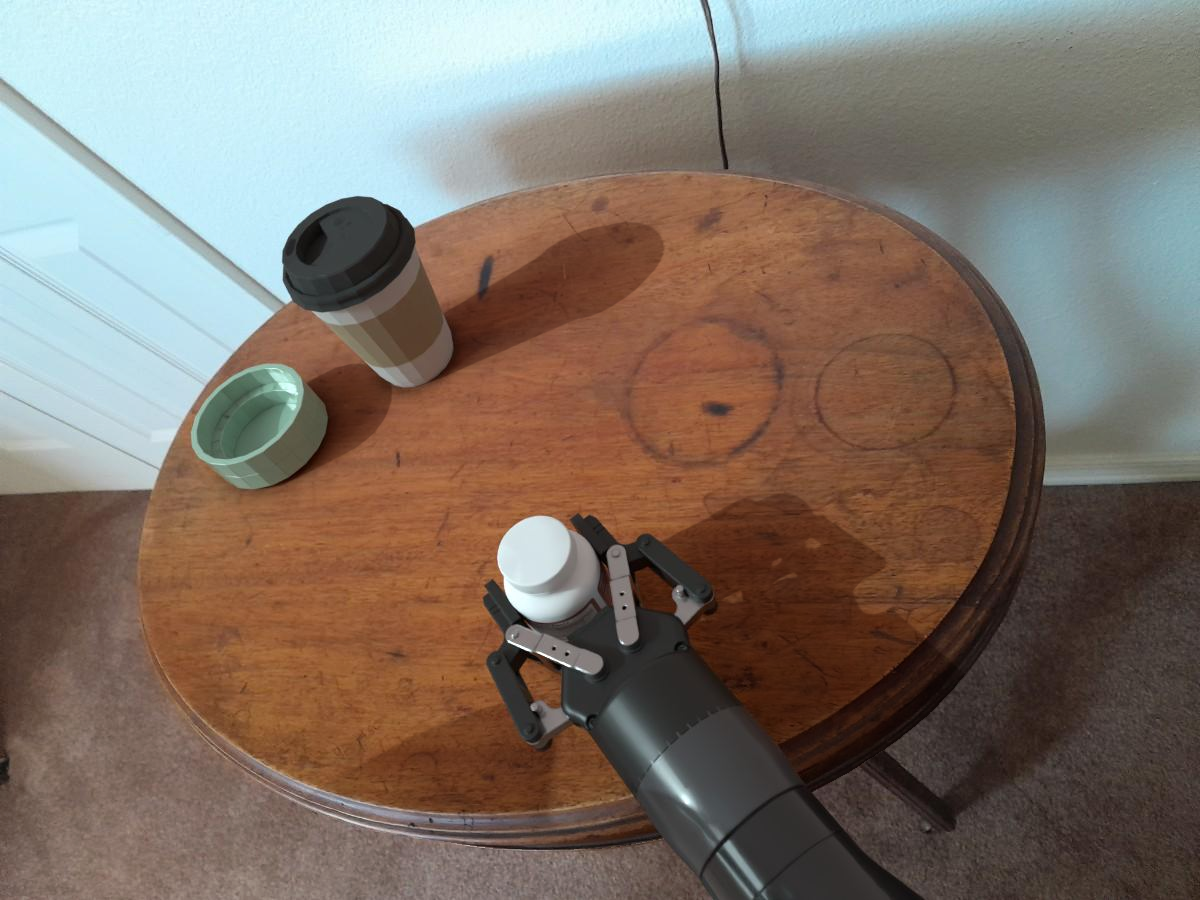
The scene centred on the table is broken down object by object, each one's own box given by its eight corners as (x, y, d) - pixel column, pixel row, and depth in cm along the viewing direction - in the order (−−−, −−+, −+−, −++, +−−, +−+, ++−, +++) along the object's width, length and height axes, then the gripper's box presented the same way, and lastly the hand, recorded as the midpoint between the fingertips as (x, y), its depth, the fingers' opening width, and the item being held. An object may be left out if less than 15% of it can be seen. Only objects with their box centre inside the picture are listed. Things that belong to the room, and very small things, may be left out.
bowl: (299, 496, 73) (269, 468, 70) (202, 487, 77) (169, 460, 74) (348, 395, 79) (322, 364, 75) (256, 391, 83) (227, 362, 79)
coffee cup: (368, 325, 83) (281, 206, 72) (478, 299, 81) (407, 171, 69) (354, 418, 77) (256, 303, 65) (473, 392, 75) (393, 268, 63)
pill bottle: (569, 570, 62) (516, 492, 53) (644, 597, 59) (601, 518, 50) (529, 648, 59) (466, 578, 51) (605, 679, 57) (553, 611, 48)
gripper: (793, 648, 43) (606, 455, 53) (568, 839, 41) (418, 600, 51) (805, 696, 49) (635, 514, 59) (609, 865, 47) (467, 647, 57)
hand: (535, 555), depth 55 cm, fingers closed on pill bottle, 6 cm apart
